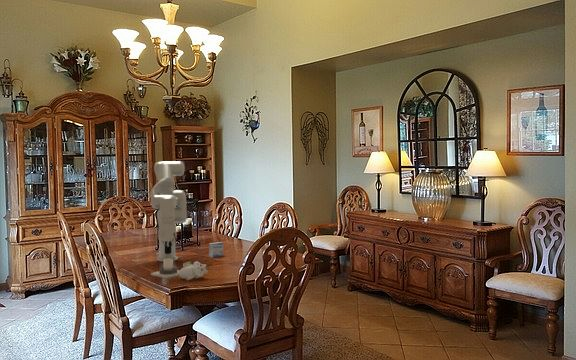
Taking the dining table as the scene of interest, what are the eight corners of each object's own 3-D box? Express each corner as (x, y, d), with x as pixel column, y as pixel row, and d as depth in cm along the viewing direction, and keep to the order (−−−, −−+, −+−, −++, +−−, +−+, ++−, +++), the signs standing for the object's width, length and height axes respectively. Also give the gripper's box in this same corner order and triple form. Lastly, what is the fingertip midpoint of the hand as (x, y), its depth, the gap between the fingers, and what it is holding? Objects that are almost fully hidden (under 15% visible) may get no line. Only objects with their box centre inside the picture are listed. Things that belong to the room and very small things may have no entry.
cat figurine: (177, 262, 261) (205, 256, 267) (175, 267, 268) (203, 261, 274) (181, 280, 257) (210, 273, 263) (179, 284, 264) (207, 278, 270)
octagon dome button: (150, 274, 273) (150, 269, 273) (169, 270, 284) (169, 265, 284) (167, 278, 266) (167, 273, 266) (185, 273, 276) (185, 268, 276)
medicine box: (212, 257, 317) (212, 244, 317) (208, 256, 321) (208, 242, 320) (223, 256, 322) (223, 242, 321) (220, 255, 325) (219, 241, 325)
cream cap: (161, 272, 274) (161, 259, 274) (169, 270, 278) (168, 258, 278) (167, 273, 271) (167, 260, 271) (175, 272, 275) (174, 259, 275)
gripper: (152, 219, 275) (153, 252, 276) (171, 222, 266) (172, 256, 268) (163, 217, 281) (164, 250, 282) (182, 220, 272) (182, 254, 274)
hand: (168, 253), depth 275 cm, fingers closed
